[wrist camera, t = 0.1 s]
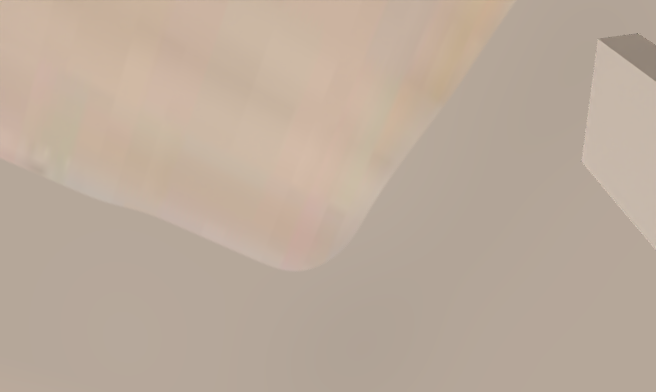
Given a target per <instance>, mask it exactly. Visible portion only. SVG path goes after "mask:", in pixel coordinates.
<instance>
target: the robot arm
mask: <svg viewBox="0 0 656 392" xmlns="http://www.w3.org/2000/svg"><path fill="white" fill-rule="evenodd" d="M582 163H583V164H584V166H585V167H586V168H587V169H588V170H589V171H590V173H591V174H592V175H593V176H594V177H595V179H597V181H598V182H599V183H600V185H601V186H602V187H603V188H604V189H605V190H606V192H607V193H608V194H609V195H610V196H611V197H612V199H613V200H614V201H615V202H616V203H617V205H618V206H619V207H620V208H621V209H622V211H623V212H624V213H625V214H626V215H627V217H628V218H629V219H630V220H631V221H632V222H633V223H634V225H635V226H636V227H637V228H638V230H639V231H640V232H641V233H642V234H643V236H644V237H645V238H646V239H647V240H648V241H649V243H650V244H651V245H652V246H653V247H654V248H655V250H656V45H655V44H653V43H652V42H650V41H649V40H647V39H646V38H644V37H642V36H641V35H639V34H638V33H637V34H629V35H623V36H616V37H608V38H601V39H598V42H597V49H596V57H595V64H594V72H593V80H592V87H591V95H590V102H589V109H588V117H587V125H586V132H585V139H584V147H583V154H582Z"/></svg>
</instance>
